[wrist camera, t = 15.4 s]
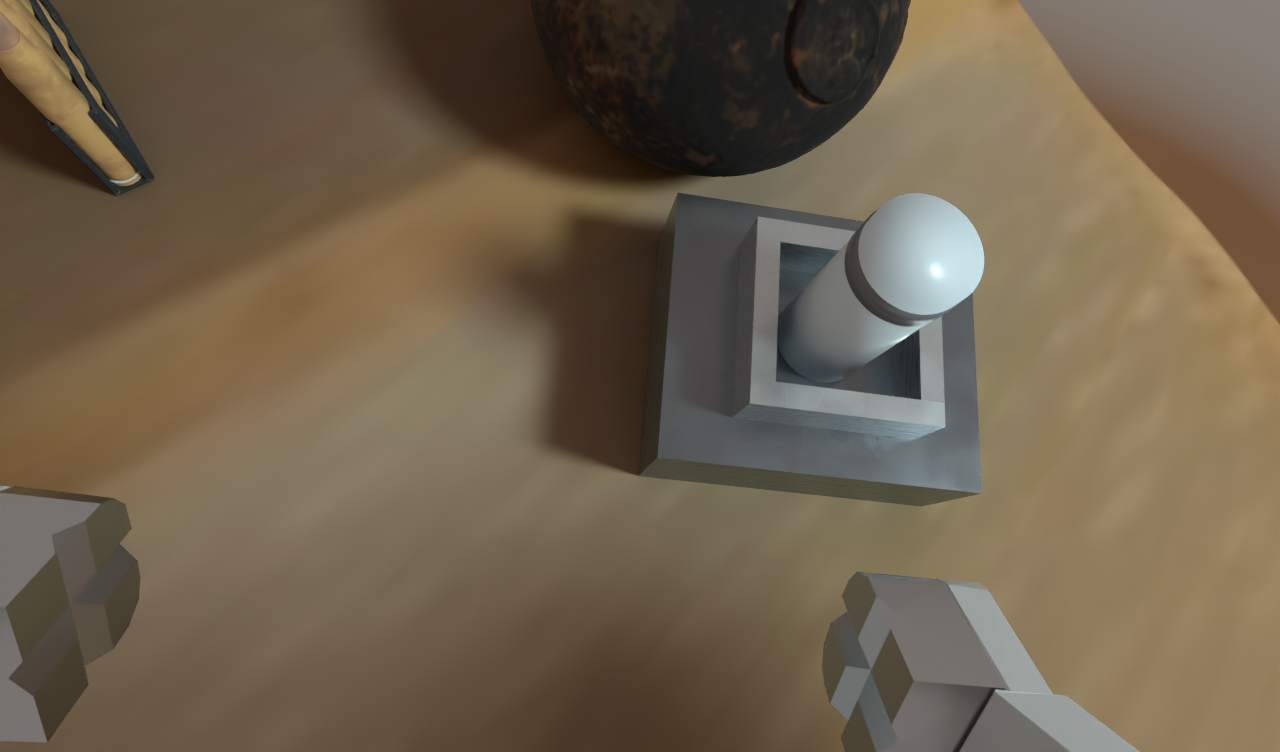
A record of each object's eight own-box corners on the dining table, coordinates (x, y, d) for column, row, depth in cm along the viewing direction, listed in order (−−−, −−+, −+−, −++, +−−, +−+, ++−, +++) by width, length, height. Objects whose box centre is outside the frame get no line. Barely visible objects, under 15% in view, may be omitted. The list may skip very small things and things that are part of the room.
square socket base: (916, 280, 40) (1002, 212, 33) (921, 506, 37) (1018, 485, 30) (658, 242, 39) (690, 162, 31) (638, 475, 35) (669, 445, 28)
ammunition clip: (156, 180, 36) (-15, -14, 24) (116, 198, 35) (-78, 7, 24) (56, 10, 37) (-149, -249, 26) (16, 24, 37) (-211, -234, 25)
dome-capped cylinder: (865, 300, 34) (982, 202, 25) (865, 389, 33) (988, 316, 24) (776, 288, 33) (865, 183, 25) (773, 377, 32) (866, 299, 24)
